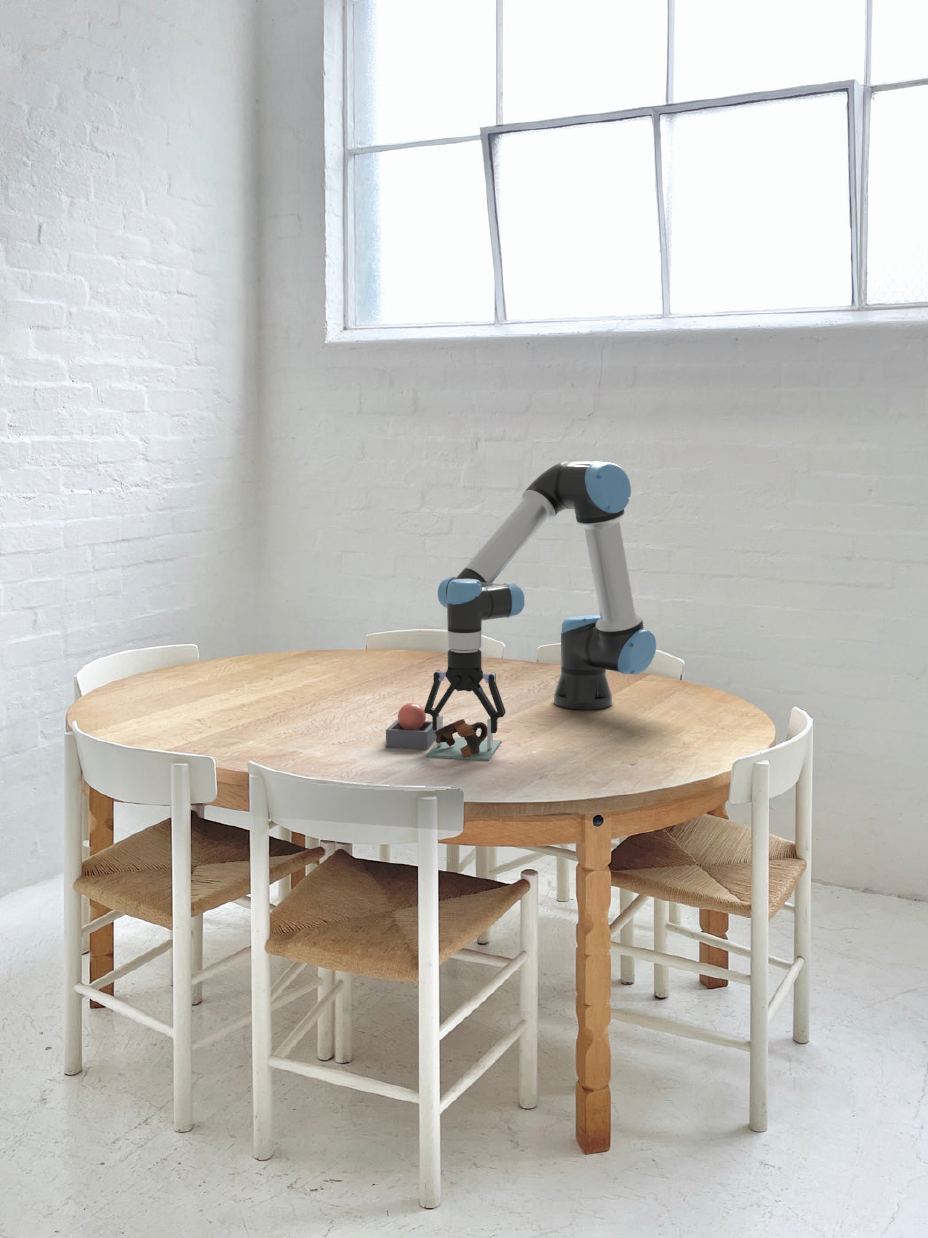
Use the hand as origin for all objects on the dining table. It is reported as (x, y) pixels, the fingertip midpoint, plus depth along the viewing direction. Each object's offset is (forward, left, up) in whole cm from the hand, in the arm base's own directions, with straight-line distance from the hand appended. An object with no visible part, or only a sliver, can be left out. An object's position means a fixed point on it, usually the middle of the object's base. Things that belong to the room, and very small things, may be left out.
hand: (464, 745), depth 258 cm
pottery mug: (0, +3, -1) cm, 3 cm away
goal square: (0, 0, -1) cm, 1 cm away
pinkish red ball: (+13, -3, +2) cm, 14 cm away
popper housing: (+13, -3, -1) cm, 13 cm away
